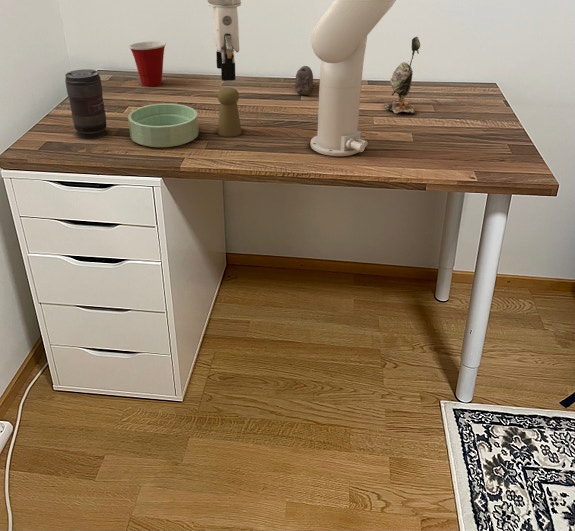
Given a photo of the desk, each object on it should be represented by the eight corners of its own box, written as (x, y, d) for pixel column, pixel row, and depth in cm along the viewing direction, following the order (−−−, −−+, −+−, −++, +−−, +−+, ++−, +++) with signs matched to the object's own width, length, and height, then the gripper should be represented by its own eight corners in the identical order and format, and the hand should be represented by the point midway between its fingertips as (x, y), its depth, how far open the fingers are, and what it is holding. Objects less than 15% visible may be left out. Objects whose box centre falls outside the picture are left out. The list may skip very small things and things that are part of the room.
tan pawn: (243, 128, 160) (242, 85, 154) (239, 137, 154) (238, 93, 148) (220, 127, 160) (218, 84, 154) (215, 135, 155) (213, 92, 149)
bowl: (212, 137, 154) (210, 116, 151) (153, 155, 144) (151, 132, 141) (174, 119, 164) (173, 99, 161) (118, 134, 155) (115, 113, 152)
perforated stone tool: (298, 82, 193) (298, 59, 189) (314, 83, 193) (315, 60, 189) (293, 97, 181) (293, 73, 177) (311, 98, 180) (312, 74, 176)
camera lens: (106, 126, 159) (97, 67, 151) (110, 137, 153) (101, 76, 145) (73, 129, 157) (62, 69, 149) (76, 141, 151) (65, 79, 142)
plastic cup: (158, 76, 196) (154, 37, 190) (176, 84, 189) (172, 44, 183) (126, 82, 190) (121, 42, 184) (144, 91, 183) (139, 49, 177)
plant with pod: (410, 102, 179) (419, 29, 168) (416, 116, 169) (426, 40, 158) (382, 102, 179) (389, 29, 168) (386, 115, 169) (394, 39, 158)
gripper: (246, 5, 134) (246, 84, 143) (235, -10, 148) (236, 63, 157) (211, 5, 132) (214, 85, 142) (203, -10, 146) (206, 64, 156)
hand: (225, 74), depth 149 cm, fingers open, 9 cm apart
